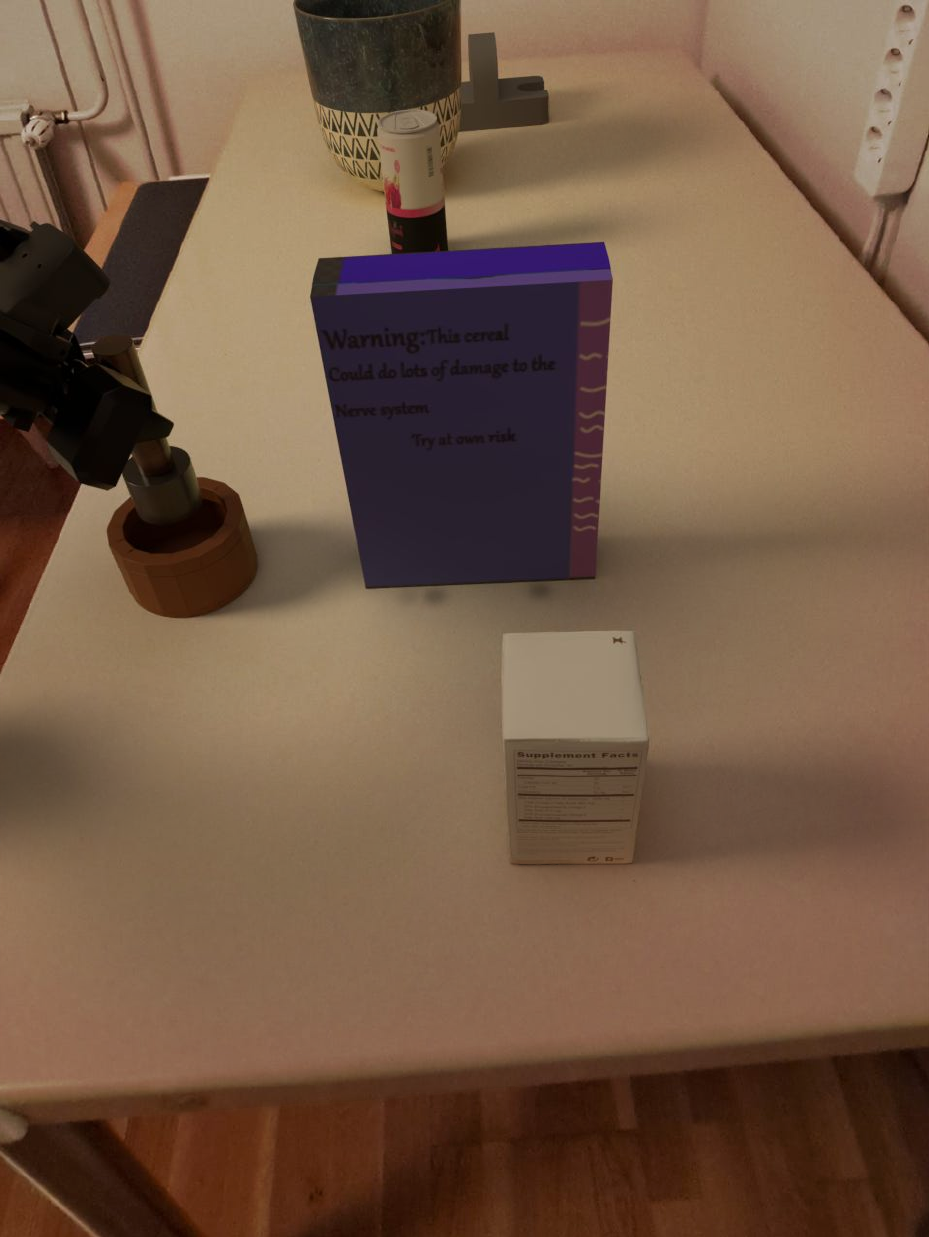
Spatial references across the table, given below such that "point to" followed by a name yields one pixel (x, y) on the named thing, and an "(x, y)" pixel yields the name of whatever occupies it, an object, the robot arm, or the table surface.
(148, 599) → the bowl
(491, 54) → the bracket
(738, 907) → the table surface
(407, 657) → the table surface
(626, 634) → the white packaging box
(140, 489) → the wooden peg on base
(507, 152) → the table surface
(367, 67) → the planter
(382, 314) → the cereal box
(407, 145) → the beverage can
